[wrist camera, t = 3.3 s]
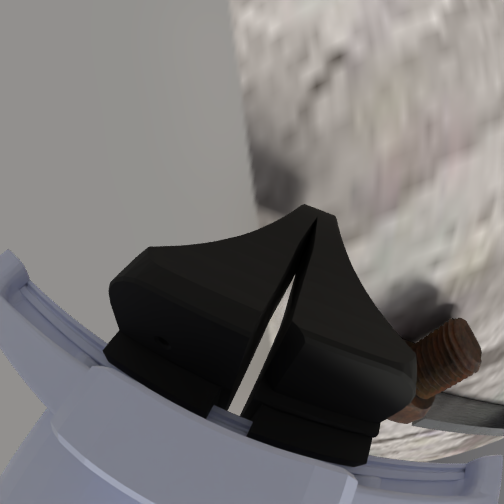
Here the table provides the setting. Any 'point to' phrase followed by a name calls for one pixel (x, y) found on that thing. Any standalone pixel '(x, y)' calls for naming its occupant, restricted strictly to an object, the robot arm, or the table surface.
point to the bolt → (440, 365)
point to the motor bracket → (463, 416)
